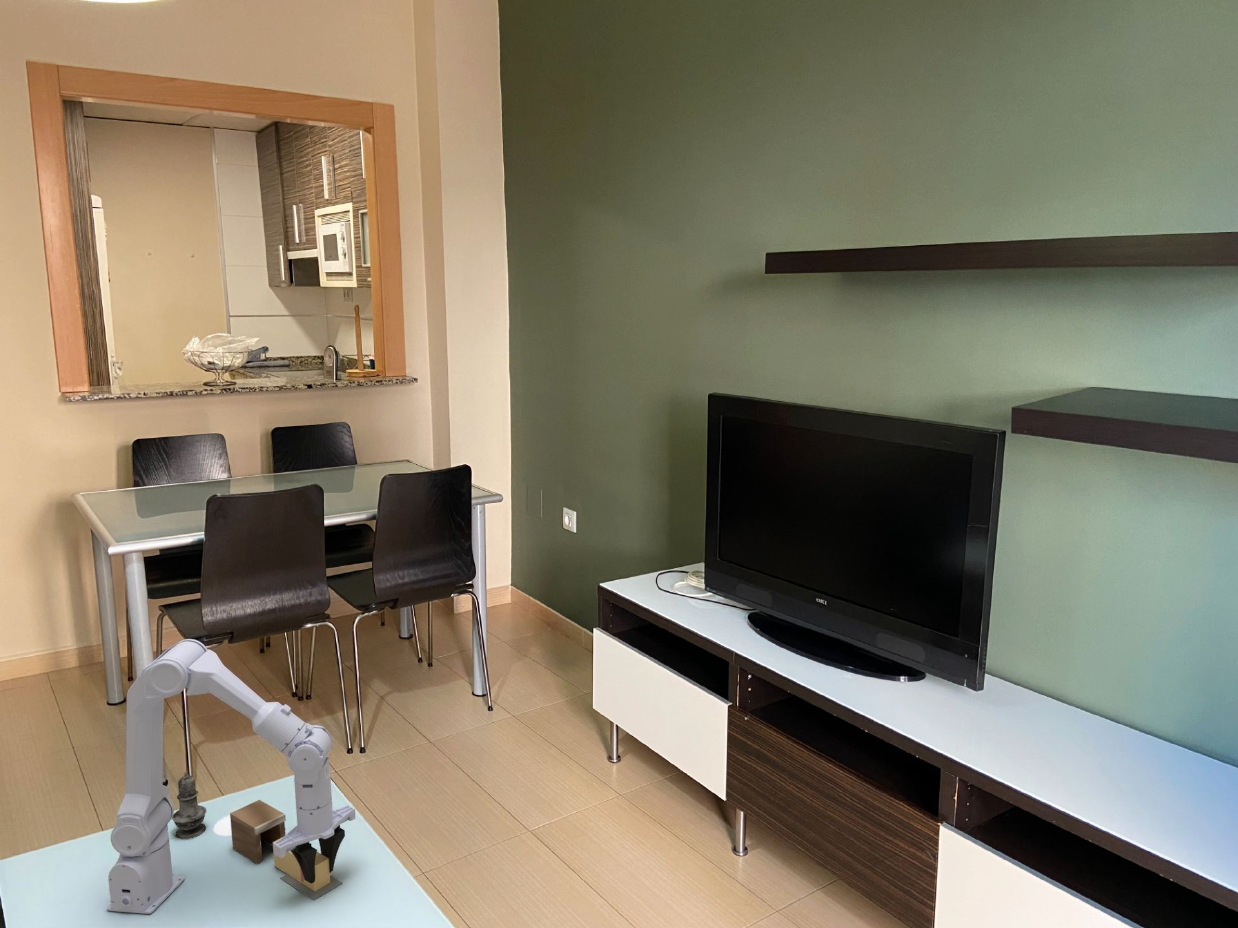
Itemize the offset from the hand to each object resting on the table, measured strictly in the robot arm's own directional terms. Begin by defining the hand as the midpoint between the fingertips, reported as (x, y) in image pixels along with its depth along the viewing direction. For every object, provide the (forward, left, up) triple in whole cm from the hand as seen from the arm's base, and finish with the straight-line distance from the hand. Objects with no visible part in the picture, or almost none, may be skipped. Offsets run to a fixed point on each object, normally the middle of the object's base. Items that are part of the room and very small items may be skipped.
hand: (318, 875), depth 152 cm
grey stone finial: (+13, +32, -2) cm, 34 cm away
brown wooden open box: (+9, +16, -2) cm, 18 cm away
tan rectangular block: (+3, +4, -2) cm, 5 cm away
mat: (+1, +2, -2) cm, 3 cm away
